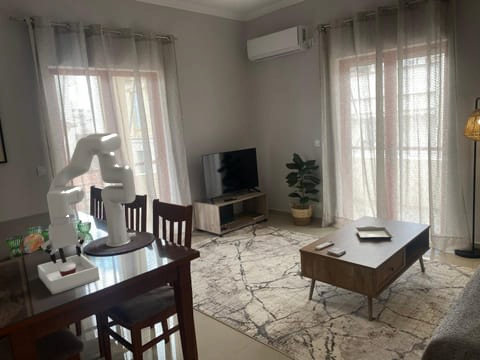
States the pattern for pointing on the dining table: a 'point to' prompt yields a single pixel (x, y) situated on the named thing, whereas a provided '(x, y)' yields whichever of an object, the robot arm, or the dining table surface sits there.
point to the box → (57, 283)
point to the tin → (32, 242)
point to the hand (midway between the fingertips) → (66, 259)
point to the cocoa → (66, 265)
